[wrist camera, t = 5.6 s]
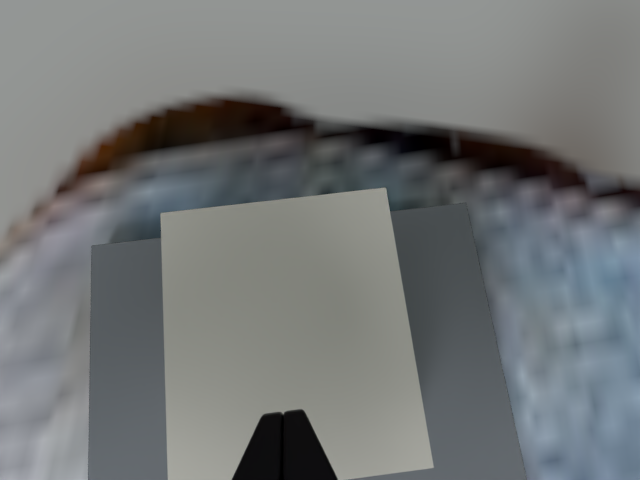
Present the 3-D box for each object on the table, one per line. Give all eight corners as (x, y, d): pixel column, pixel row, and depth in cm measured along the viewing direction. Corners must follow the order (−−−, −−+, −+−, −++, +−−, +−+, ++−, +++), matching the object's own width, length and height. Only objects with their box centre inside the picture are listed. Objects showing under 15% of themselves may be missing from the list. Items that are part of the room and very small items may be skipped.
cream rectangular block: (434, 468, 11) (385, 187, 14) (168, 503, 11) (160, 212, 13) (411, 446, 14) (374, 215, 16) (197, 475, 14) (187, 237, 16)
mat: (567, 725, 13) (587, 754, 12) (100, 797, 13) (82, 834, 12) (457, 211, 17) (465, 202, 16) (104, 252, 17) (91, 245, 16)
